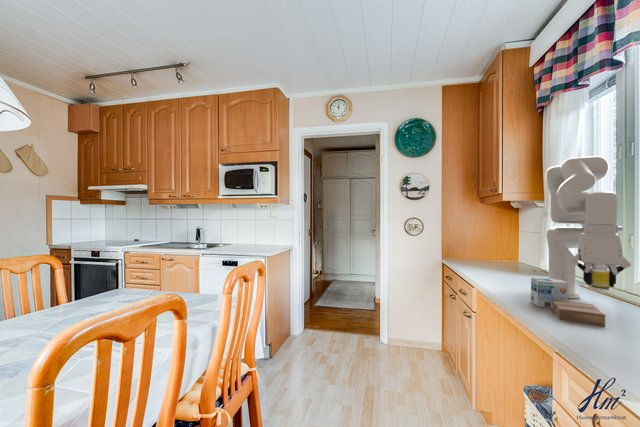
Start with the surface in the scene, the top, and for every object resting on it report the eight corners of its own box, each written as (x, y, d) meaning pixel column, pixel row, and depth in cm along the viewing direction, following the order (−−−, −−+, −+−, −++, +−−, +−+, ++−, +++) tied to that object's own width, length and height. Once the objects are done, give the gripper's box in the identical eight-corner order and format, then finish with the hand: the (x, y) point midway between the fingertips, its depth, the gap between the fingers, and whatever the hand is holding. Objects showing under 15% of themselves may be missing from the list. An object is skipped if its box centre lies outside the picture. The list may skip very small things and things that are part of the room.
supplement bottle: (613, 291, 91) (613, 265, 91) (596, 290, 92) (596, 264, 92) (602, 287, 96) (602, 262, 96) (585, 286, 97) (585, 261, 97)
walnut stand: (551, 309, 113) (551, 299, 113) (592, 315, 108) (592, 304, 108) (559, 320, 103) (559, 309, 103) (605, 326, 97) (605, 314, 97)
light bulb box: (537, 307, 117) (537, 280, 117) (529, 302, 123) (530, 277, 123) (568, 309, 114) (568, 282, 114) (559, 304, 120) (559, 278, 120)
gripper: (630, 229, 93) (629, 285, 93) (563, 228, 101) (562, 279, 101) (642, 231, 86) (641, 291, 87) (569, 229, 94) (569, 284, 95)
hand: (599, 284), depth 94 cm, fingers closed on supplement bottle, 4 cm apart
